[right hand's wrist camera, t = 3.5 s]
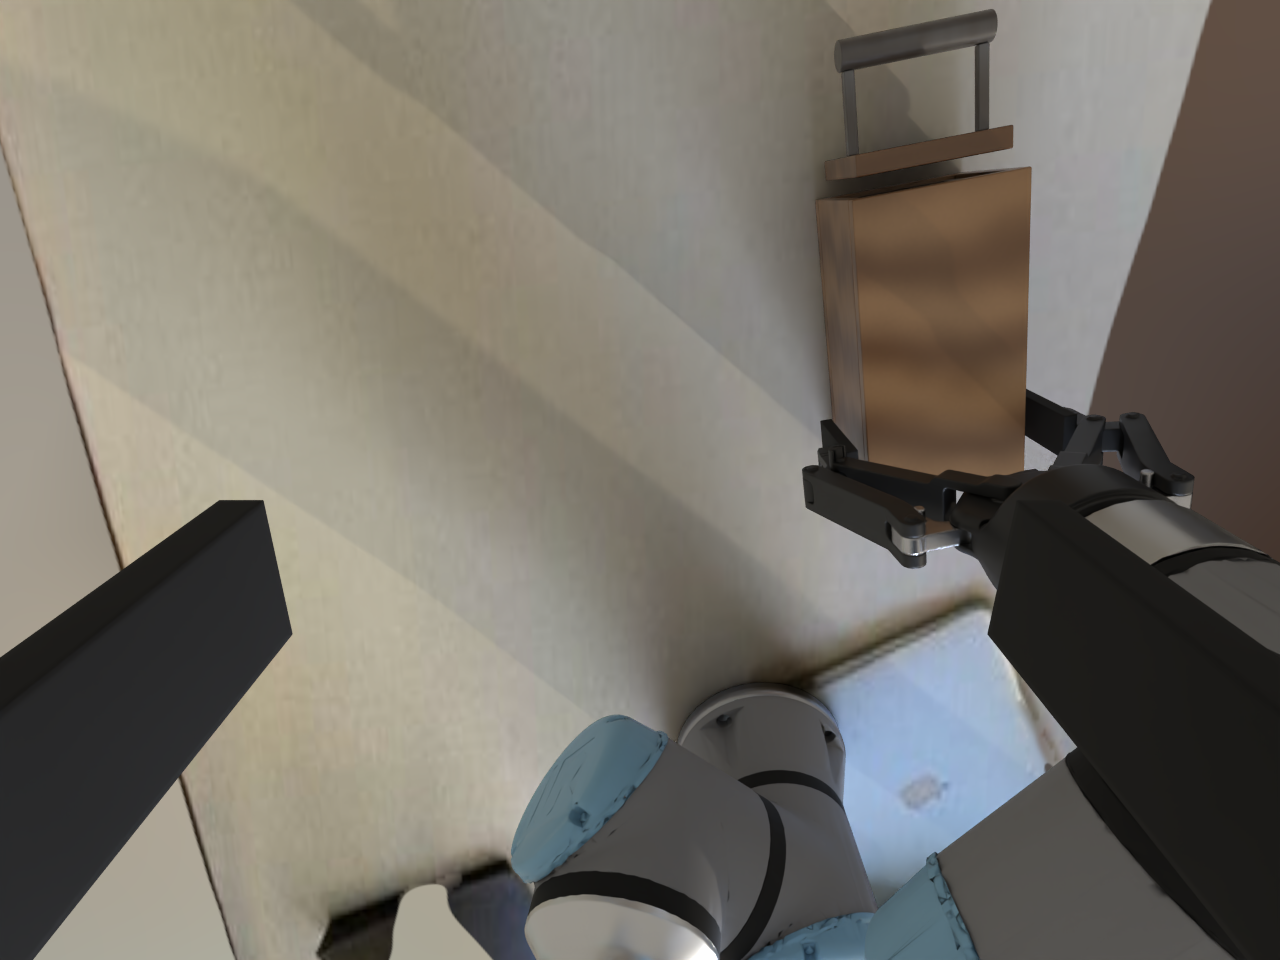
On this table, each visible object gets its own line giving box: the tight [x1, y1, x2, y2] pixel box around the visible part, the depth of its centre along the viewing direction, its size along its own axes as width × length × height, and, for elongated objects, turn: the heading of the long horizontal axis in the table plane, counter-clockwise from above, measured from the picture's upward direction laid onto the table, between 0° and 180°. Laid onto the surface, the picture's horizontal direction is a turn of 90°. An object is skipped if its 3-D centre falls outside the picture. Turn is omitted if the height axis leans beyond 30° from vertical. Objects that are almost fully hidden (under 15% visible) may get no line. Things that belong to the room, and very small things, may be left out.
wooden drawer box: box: [815, 167, 1032, 477], centre depth 47 cm, size 19×10×9 cm, turn 10°
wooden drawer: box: [825, 9, 1013, 198], centre depth 45 cm, size 24×9×7 cm, turn 10°
